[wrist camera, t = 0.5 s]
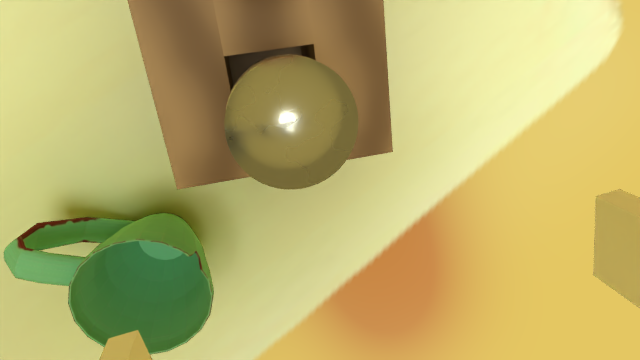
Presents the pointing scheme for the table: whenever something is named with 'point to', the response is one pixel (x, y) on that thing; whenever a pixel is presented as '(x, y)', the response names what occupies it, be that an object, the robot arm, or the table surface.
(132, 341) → the robot arm
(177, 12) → the brown wooden block
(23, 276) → the mug
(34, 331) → the table surface
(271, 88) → the plunger
